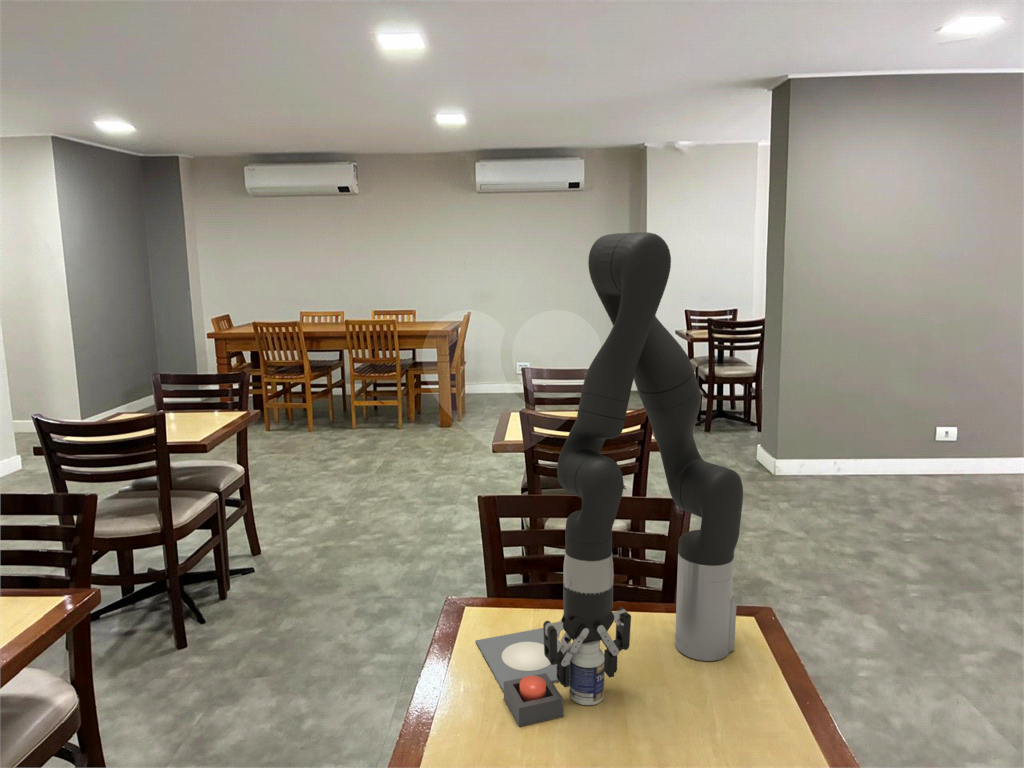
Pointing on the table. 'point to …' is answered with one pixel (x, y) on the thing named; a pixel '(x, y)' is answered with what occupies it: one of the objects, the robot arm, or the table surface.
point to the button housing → (533, 703)
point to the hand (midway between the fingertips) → (586, 679)
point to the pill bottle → (587, 674)
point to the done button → (532, 688)
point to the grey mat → (517, 656)
